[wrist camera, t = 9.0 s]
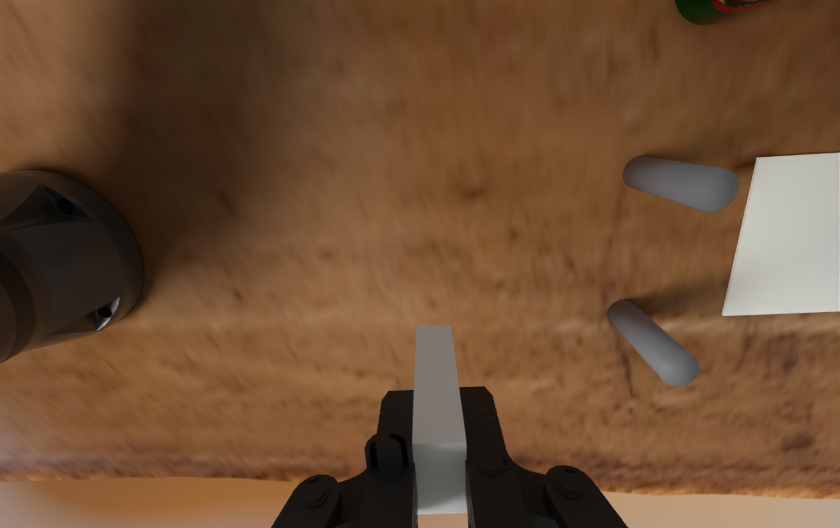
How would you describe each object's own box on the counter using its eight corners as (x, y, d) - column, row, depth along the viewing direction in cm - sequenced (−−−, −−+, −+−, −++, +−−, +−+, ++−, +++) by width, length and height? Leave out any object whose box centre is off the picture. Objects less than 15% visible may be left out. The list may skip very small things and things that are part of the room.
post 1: (621, 189, 32) (689, 213, 24) (625, 156, 31) (696, 169, 23) (653, 187, 32) (733, 210, 24) (658, 154, 31) (742, 166, 23)
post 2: (606, 325, 36) (658, 386, 28) (608, 300, 36) (664, 355, 27) (634, 324, 36) (696, 385, 28) (638, 299, 35) (702, 354, 27)
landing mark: (721, 314, 36) (723, 315, 35) (756, 157, 31) (758, 157, 31) (882, 308, 35) (885, 309, 35) (943, 146, 30) (947, 146, 30)
